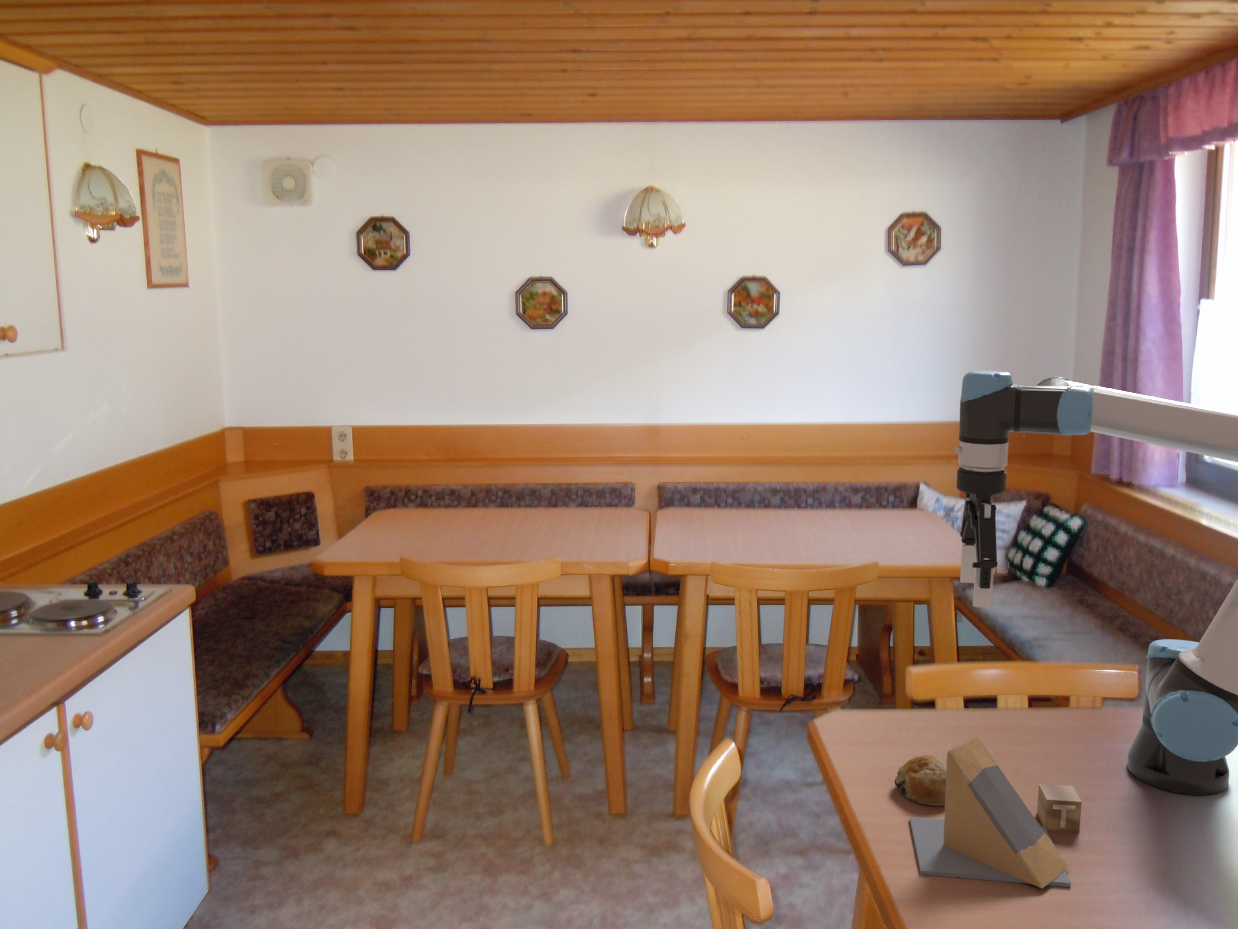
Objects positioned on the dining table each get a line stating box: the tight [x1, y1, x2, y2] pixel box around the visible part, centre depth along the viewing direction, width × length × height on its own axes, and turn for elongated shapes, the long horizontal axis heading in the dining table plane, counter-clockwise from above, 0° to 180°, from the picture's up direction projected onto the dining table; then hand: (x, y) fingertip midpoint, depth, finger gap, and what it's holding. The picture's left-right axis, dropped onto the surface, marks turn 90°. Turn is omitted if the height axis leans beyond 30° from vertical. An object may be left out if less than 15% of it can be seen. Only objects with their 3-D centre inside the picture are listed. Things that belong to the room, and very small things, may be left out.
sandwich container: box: [943, 735, 1070, 889], centre depth 148 cm, size 9×15×15 cm, turn 42°
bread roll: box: [894, 754, 947, 807], centre depth 169 cm, size 10×10×8 cm
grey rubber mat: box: [909, 816, 1072, 888], centre depth 151 cm, size 20×15×1 cm
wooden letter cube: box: [1036, 783, 1083, 833], centre depth 159 cm, size 5×5×5 cm
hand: (975, 594), depth 170 cm, fingers open, 13 cm apart
